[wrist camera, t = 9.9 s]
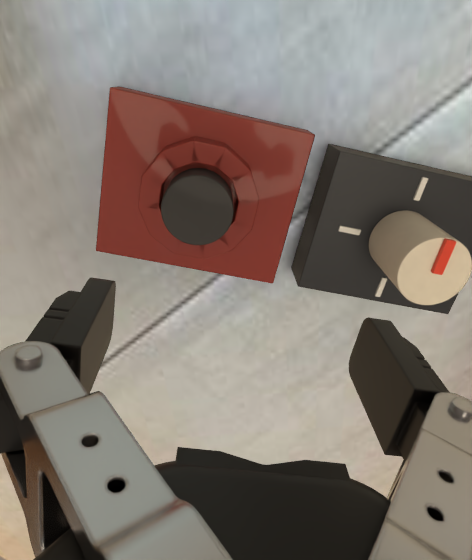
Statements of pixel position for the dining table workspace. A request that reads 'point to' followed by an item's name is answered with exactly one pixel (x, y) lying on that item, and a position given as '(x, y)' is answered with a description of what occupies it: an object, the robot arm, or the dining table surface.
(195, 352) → the dining table surface
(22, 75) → the dining table surface
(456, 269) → the knob
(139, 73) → the dining table surface
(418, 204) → the control panel
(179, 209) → the button
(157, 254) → the button housing
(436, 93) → the dining table surface
